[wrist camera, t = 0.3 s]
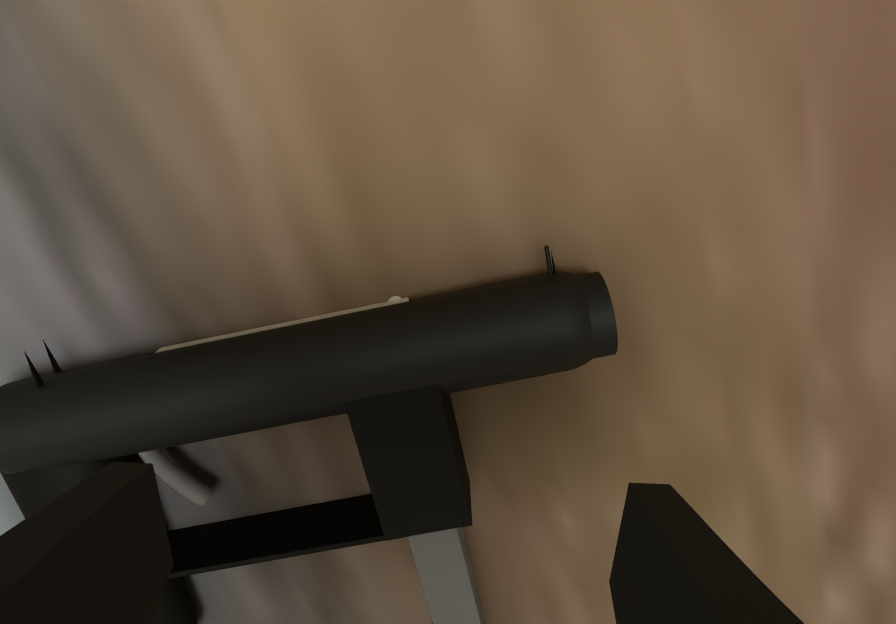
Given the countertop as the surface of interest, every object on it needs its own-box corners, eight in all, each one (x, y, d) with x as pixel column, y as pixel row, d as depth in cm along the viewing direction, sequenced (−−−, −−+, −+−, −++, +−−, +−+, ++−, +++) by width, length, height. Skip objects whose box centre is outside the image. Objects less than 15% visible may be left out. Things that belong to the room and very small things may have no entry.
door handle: (665, 684, 21) (609, 239, 16) (122, 769, 22) (-96, 384, 17) (636, 608, 24) (582, 216, 19) (162, 686, 25) (-12, 340, 20)
